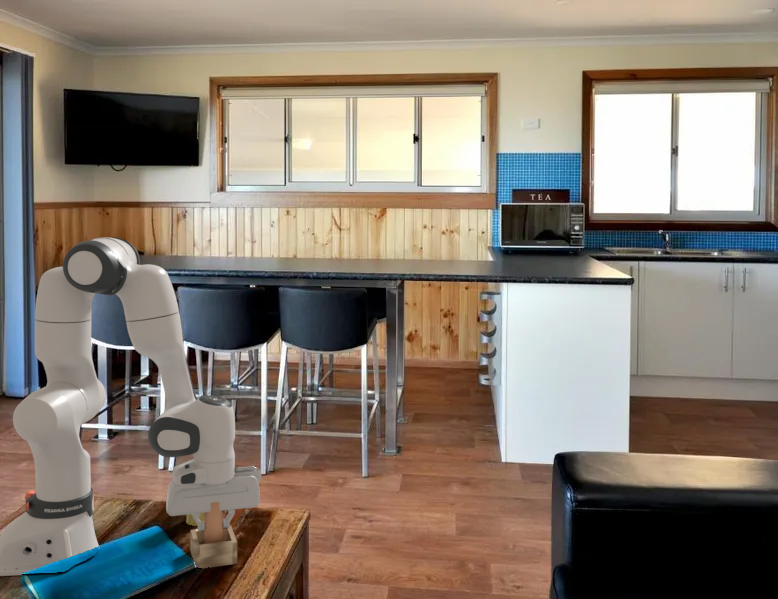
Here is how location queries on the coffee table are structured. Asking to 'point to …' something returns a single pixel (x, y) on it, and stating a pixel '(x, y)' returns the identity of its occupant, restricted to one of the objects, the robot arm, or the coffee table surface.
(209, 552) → the socket block
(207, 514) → the peg
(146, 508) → the coffee table surface
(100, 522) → the coffee table surface
